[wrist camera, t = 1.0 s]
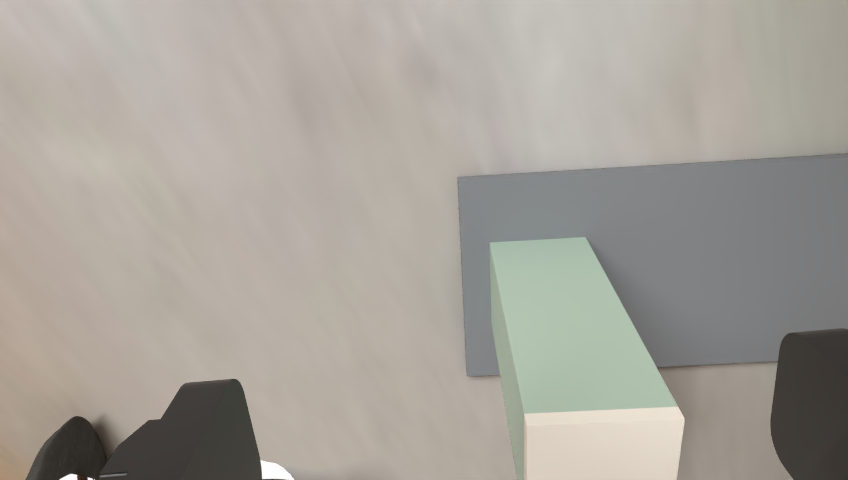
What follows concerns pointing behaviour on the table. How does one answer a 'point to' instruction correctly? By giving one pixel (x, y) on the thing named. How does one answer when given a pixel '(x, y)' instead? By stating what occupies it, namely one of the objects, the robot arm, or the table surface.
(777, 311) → the slate mat
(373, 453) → the table surface
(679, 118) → the table surface
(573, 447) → the sage block
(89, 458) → the figurine
